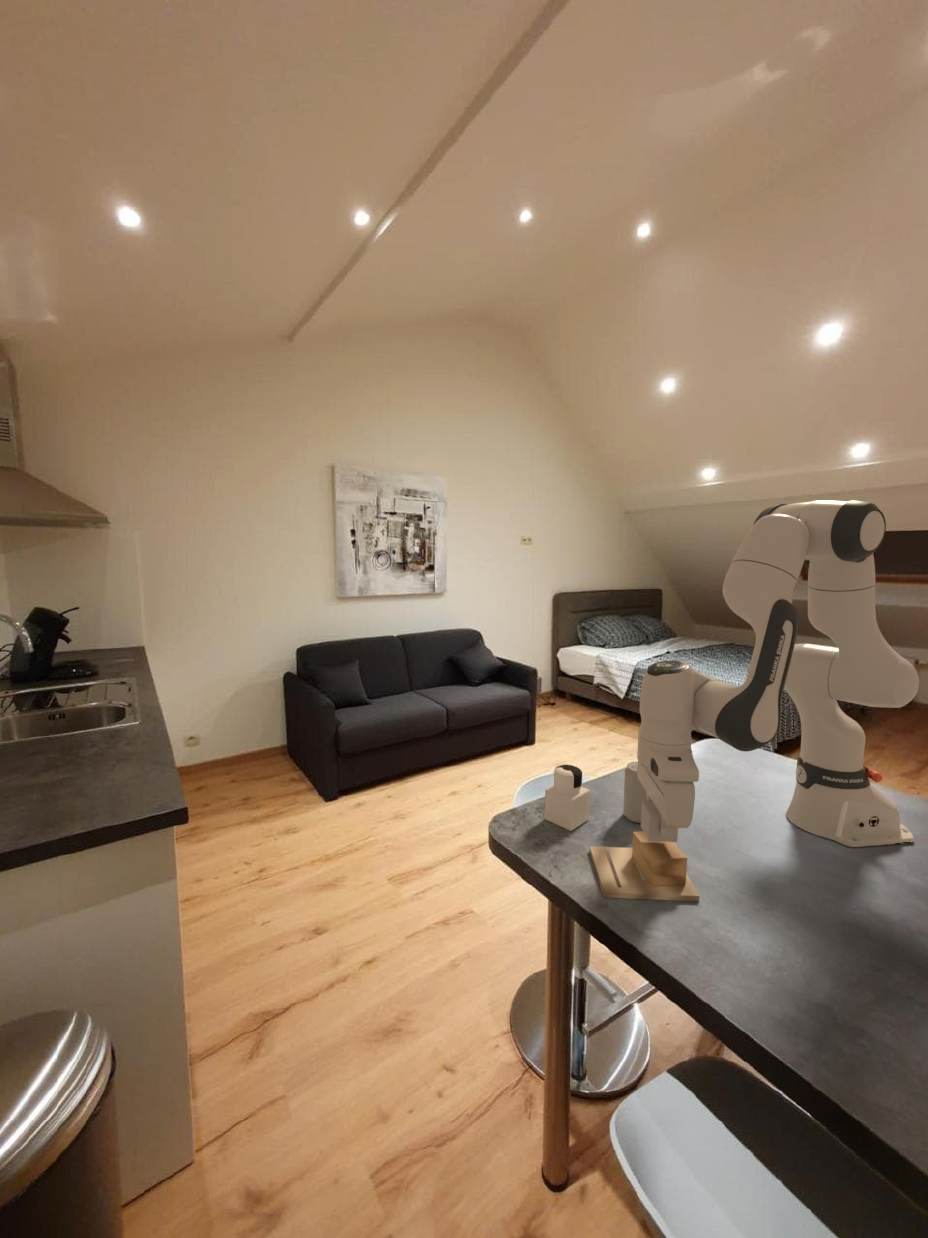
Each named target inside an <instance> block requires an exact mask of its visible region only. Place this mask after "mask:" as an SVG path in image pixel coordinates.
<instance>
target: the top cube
mask: <svg viewBox="0 0 928 1238" xmlns="http://www.w3.org/2000/svg"><path fill="white" fill-rule="evenodd" d="M661 820H662V818H661V815H660V813H659V811H658V810H657V808H656V806H655V805H654V803H653V802H652V801H642V811H641V823H640V827H641V830H642V831H643V832H644V834H645V835H646V837H647V839H648V841H663V842H674V843H677V842H678V834H679V828H672V835H671V836H670V837H663V836H662V835H661V834H660V832H659V823H661Z"/></svg>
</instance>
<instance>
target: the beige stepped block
mask: <svg viewBox="0 0 928 1238" xmlns="http://www.w3.org/2000/svg"><path fill="white" fill-rule="evenodd" d="M544 793H545V794H544V820H545V821H548V822H550V823H552V824H553V825H557V826H559V827H561V828H563V829H565V830H567V831H570V832H572V831H573V830H575V829H576V828H578V827H579V826H582V825H583V824H584V823H585V822H587V821H589V819H590V799H591V797H590V796H591V791H590V789H589V788H586V787H584V786H583V771H582V770H581V769H580V768H579V767H578V766H575V765H573V764H561V765H557V766H556V767H555V768H554V770H553V785H552V786H550V787H548V788H546V789H545V792H544Z"/></svg>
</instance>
